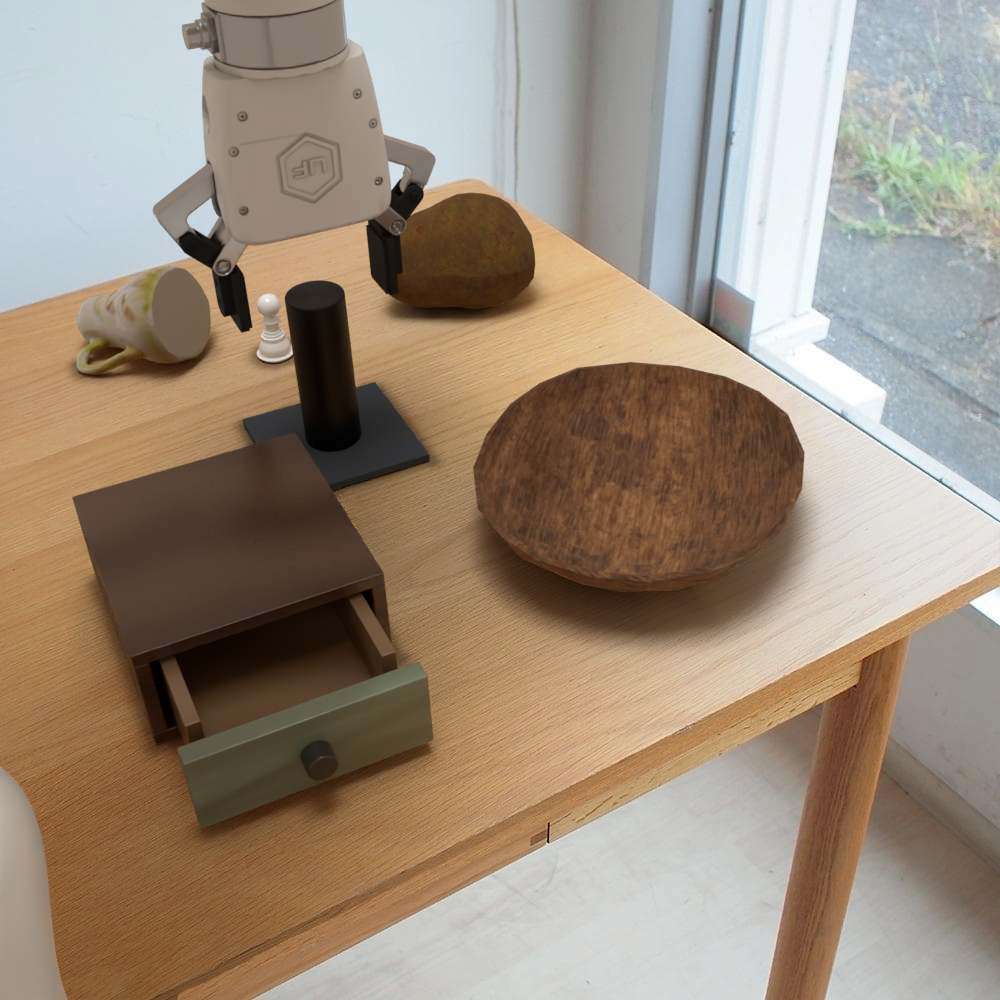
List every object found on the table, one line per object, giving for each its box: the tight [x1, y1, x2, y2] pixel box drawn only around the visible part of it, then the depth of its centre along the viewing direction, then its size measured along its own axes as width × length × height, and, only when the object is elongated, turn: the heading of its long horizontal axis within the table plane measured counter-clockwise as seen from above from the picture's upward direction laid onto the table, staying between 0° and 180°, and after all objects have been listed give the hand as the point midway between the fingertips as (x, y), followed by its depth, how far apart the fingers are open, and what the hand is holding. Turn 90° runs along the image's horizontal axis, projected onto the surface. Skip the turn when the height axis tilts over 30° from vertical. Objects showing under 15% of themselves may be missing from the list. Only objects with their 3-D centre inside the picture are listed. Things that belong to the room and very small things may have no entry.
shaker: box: [284, 279, 361, 452], centre depth 87 cm, size 4×4×11 cm
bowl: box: [472, 361, 806, 593], centre depth 82 cm, size 20×22×5 cm
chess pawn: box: [256, 293, 293, 364], centre depth 99 cm, size 3×3×5 cm
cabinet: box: [71, 432, 393, 745], centre depth 75 cm, size 15×14×7 cm
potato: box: [390, 192, 536, 310], centre depth 103 cm, size 8×12×9 cm
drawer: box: [153, 592, 435, 829], centre depth 69 cm, size 15×12×5 cm
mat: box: [242, 381, 430, 492], centre depth 91 cm, size 10×10×1 cm
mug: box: [75, 266, 212, 376], centre depth 99 cm, size 8×10×10 cm
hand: (313, 303), depth 84 cm, fingers open, 9 cm apart
